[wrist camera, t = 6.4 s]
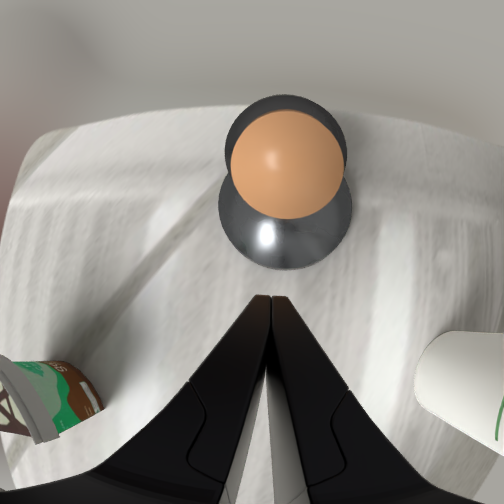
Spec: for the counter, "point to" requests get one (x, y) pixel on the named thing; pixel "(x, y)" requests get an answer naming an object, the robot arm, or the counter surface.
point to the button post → (275, 229)
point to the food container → (44, 398)
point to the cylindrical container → (465, 384)
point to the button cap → (287, 164)
